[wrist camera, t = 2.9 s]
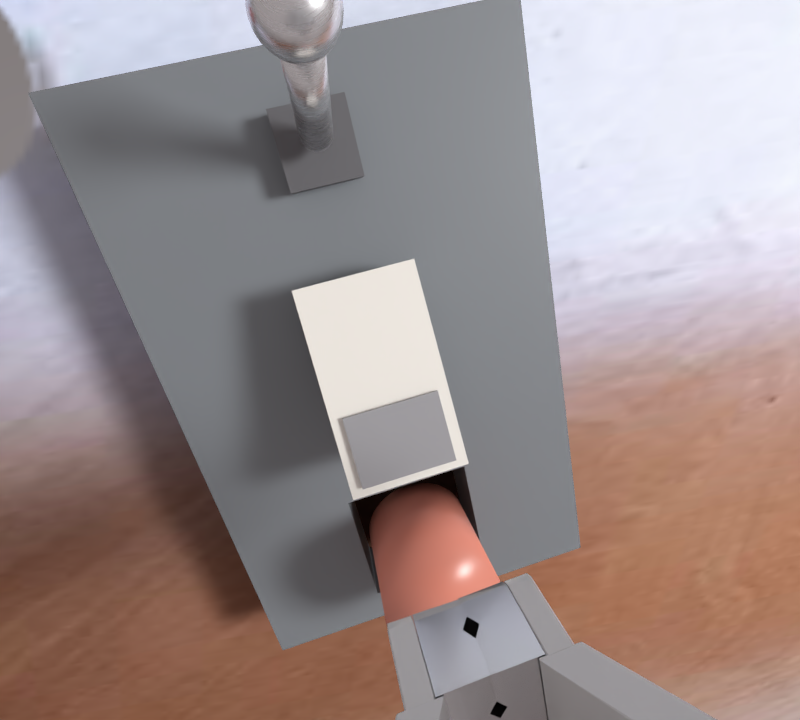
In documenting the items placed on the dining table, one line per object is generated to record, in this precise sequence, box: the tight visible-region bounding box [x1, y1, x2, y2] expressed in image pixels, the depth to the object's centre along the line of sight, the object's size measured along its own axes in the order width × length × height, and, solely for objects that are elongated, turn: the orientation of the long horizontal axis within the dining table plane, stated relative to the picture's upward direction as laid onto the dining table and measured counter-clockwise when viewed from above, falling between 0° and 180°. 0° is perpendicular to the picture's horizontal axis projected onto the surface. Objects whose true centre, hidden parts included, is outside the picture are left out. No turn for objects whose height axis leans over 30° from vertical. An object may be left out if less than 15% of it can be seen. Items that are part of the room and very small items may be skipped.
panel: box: [29, 0, 580, 650], centre depth 18 cm, size 23×15×4 cm, turn 13°
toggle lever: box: [245, 0, 344, 152], centre depth 10 cm, size 2×2×6 cm
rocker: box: [292, 259, 469, 500], centre depth 15 cm, size 7×4×1 cm, turn 13°
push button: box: [369, 483, 500, 632], centre depth 18 cm, size 4×4×4 cm
